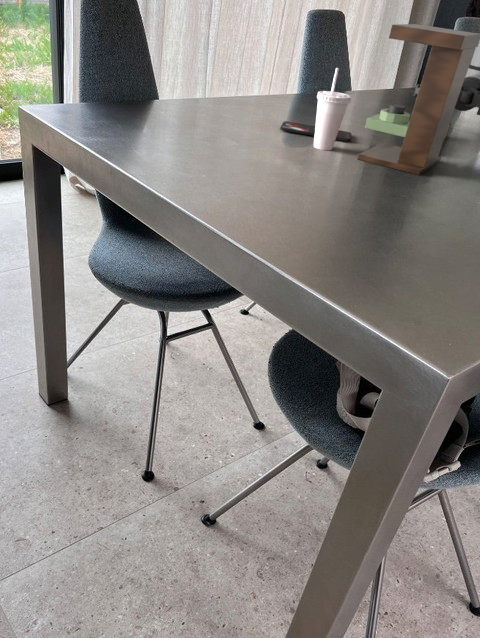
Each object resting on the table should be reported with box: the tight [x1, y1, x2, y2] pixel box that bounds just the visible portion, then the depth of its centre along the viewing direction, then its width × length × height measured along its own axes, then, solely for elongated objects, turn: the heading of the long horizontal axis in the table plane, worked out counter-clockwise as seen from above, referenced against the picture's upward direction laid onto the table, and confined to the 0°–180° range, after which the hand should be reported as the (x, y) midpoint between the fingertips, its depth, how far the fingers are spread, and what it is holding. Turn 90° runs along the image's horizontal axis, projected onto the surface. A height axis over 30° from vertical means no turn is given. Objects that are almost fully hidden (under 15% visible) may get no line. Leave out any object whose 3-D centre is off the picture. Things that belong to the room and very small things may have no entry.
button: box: [387, 103, 406, 114], centre depth 130 cm, size 4×4×2 cm
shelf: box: [357, 23, 480, 176], centre depth 104 cm, size 12×14×22 cm
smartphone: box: [279, 120, 352, 143], centre depth 121 cm, size 7×1×15 cm
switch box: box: [364, 108, 411, 138], centre depth 131 cm, size 10×8×4 cm
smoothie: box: [313, 67, 352, 151], centre depth 108 cm, size 6×6×14 cm
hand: (449, 102), depth 127 cm, fingers open, 13 cm apart
